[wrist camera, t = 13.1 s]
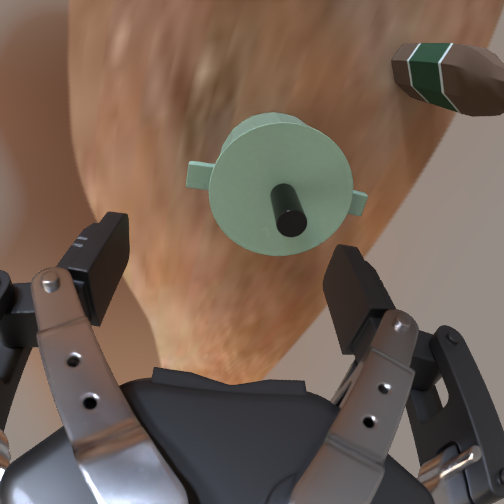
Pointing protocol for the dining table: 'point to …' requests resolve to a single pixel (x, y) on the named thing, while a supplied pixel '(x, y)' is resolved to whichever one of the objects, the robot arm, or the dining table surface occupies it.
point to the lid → (280, 189)
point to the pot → (202, 171)
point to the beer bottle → (452, 77)
